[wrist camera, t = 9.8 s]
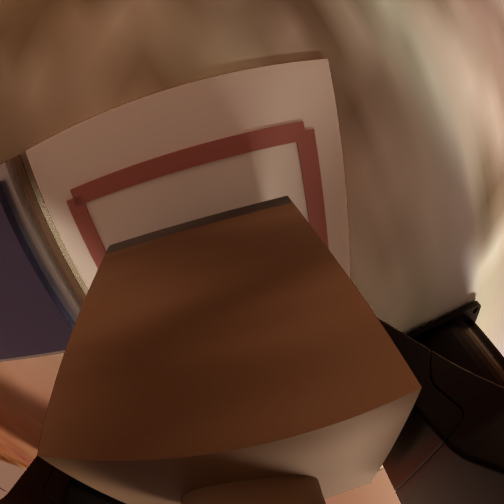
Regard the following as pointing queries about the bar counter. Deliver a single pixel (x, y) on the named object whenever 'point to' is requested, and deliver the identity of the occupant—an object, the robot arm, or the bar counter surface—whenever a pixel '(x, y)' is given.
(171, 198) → the print sheet
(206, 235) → the stamp
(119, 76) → the bar counter surface
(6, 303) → the ink pad
